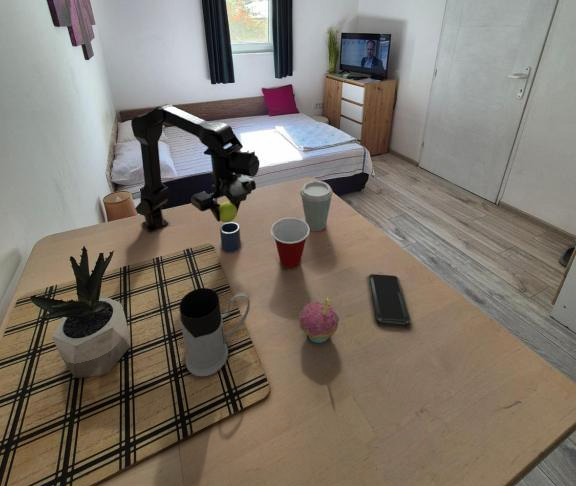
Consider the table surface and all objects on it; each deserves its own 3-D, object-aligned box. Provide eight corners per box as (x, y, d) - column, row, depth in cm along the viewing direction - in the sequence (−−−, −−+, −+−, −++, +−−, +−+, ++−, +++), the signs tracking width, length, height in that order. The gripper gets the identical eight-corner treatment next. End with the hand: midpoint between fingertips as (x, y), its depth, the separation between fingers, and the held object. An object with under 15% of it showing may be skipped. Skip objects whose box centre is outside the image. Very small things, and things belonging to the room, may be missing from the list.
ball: (213, 220, 97) (211, 203, 95) (230, 212, 101) (228, 196, 99) (224, 229, 93) (223, 211, 91) (241, 220, 97) (240, 203, 95)
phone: (376, 320, 75) (368, 273, 89) (376, 323, 75) (368, 276, 89) (411, 323, 74) (398, 275, 88) (410, 326, 75) (397, 279, 88)
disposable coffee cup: (332, 235, 106) (335, 195, 100) (299, 235, 106) (300, 195, 100) (329, 217, 116) (331, 179, 110) (299, 217, 116) (299, 179, 110)
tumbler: (218, 246, 101) (216, 227, 98) (233, 238, 105) (232, 219, 102) (229, 255, 97) (227, 235, 95) (244, 246, 101) (243, 227, 98)
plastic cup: (265, 269, 92) (264, 234, 87) (280, 246, 101) (280, 214, 96) (301, 280, 88) (302, 244, 83) (313, 255, 97) (314, 222, 92)
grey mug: (183, 345, 70) (173, 293, 64) (246, 323, 76) (242, 273, 70) (188, 383, 63) (178, 328, 57) (257, 356, 68) (255, 303, 62)
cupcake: (340, 324, 75) (343, 284, 71) (332, 357, 68) (336, 315, 63) (304, 314, 78) (305, 275, 73) (293, 344, 71) (294, 304, 66)
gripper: (209, 191, 79) (214, 243, 85) (267, 168, 91) (268, 215, 97) (186, 176, 87) (193, 225, 93) (243, 157, 98) (245, 202, 105)
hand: (227, 217), depth 97 cm, fingers closed on ball, 6 cm apart
